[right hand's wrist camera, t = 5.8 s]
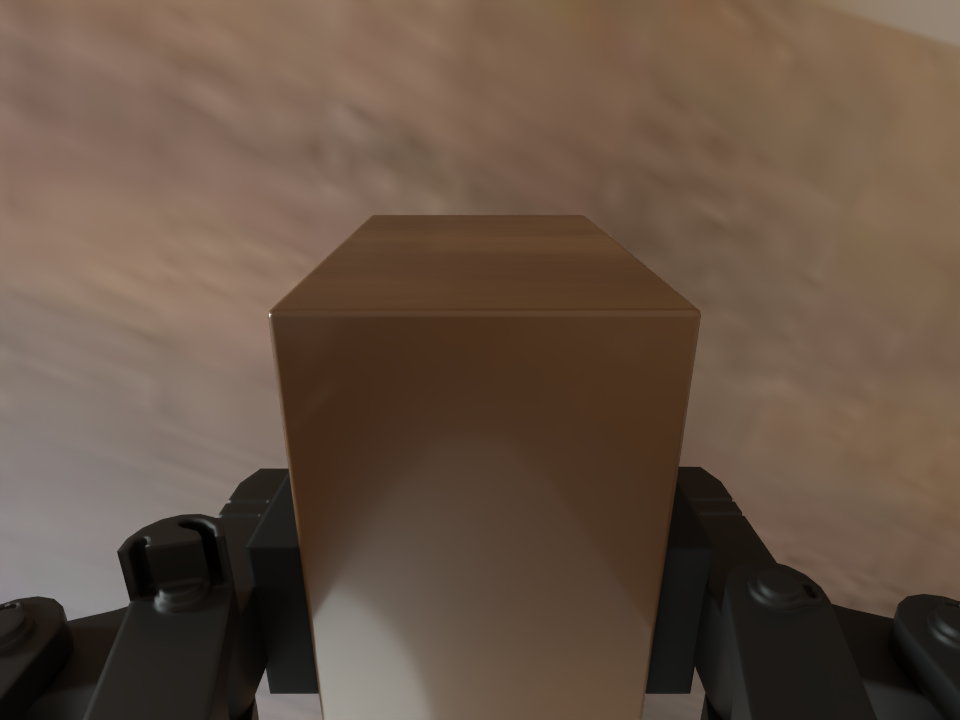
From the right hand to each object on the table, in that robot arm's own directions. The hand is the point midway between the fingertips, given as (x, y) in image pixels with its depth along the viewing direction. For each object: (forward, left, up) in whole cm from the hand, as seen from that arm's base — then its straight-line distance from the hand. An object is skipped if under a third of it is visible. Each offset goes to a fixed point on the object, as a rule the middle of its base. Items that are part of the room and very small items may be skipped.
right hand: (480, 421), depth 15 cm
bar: (-9, +29, -1) cm, 31 cm away
